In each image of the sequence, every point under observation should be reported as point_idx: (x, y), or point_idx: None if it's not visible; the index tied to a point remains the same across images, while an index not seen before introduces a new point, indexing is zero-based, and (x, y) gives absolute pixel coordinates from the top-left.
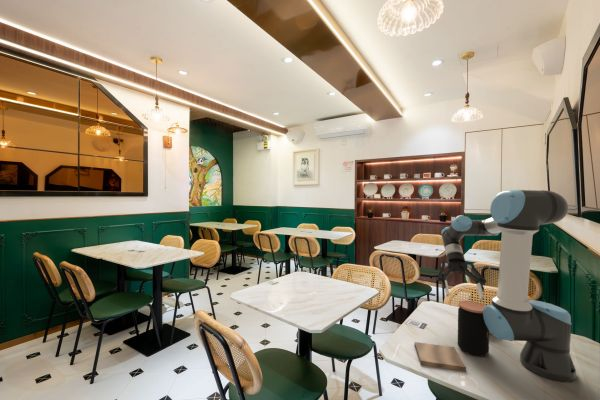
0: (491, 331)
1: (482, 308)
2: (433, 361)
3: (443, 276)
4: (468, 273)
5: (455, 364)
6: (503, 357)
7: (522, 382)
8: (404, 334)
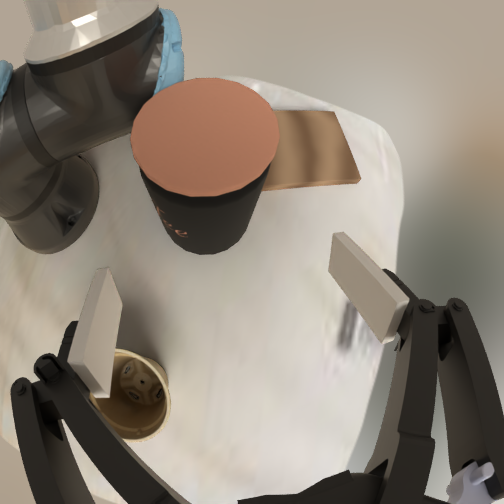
0: None
1: (170, 105)
2: (310, 113)
3: (437, 327)
4: (157, 479)
5: None
6: (130, 209)
7: None
8: (387, 234)
